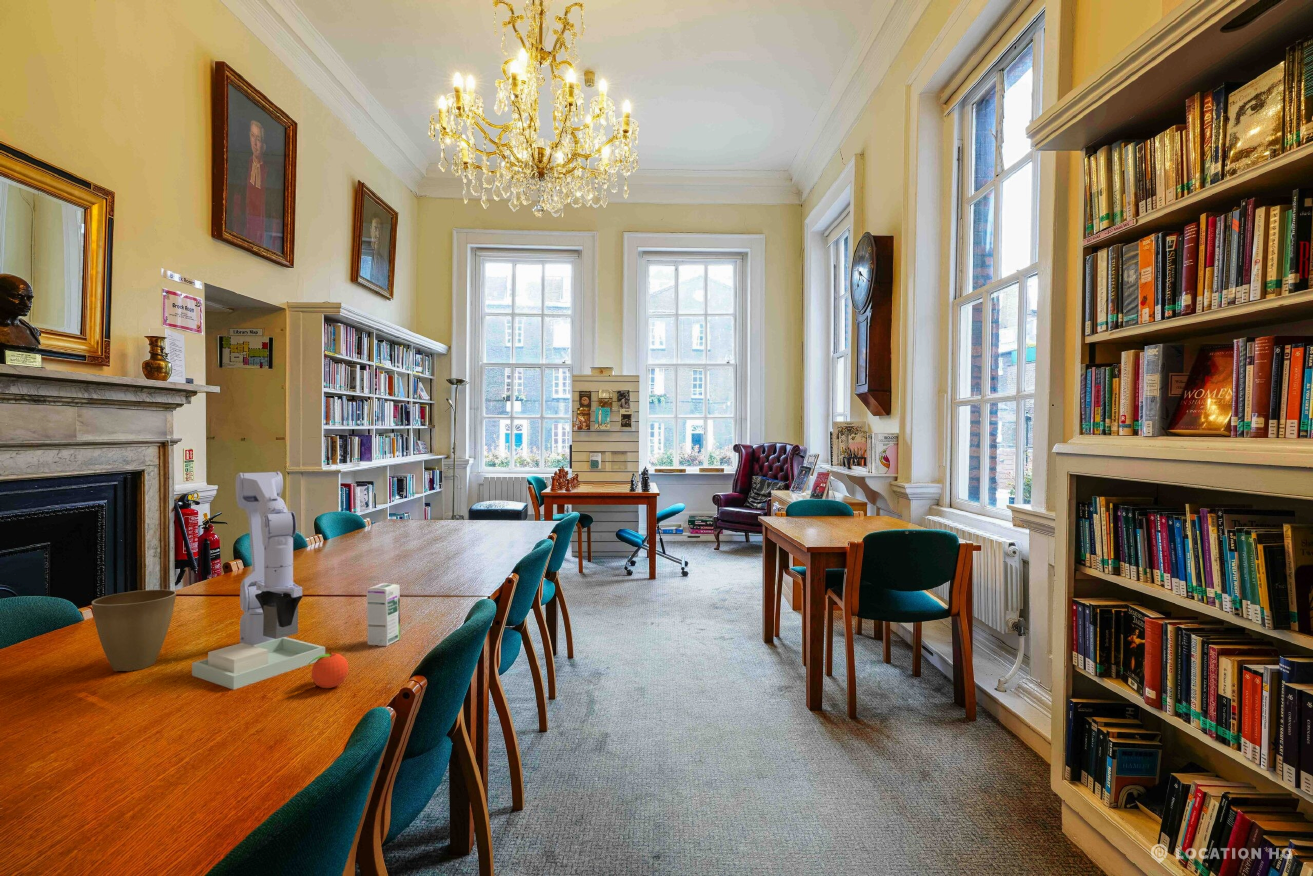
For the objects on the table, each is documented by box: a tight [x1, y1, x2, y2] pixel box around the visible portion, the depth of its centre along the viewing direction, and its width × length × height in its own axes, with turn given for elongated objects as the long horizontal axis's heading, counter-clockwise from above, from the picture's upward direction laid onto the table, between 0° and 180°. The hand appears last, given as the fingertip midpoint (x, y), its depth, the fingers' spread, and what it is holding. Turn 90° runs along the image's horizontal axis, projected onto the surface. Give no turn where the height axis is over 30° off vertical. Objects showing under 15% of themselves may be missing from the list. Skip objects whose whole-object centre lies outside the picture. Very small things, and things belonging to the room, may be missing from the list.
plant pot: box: [91, 589, 177, 672], centre depth 143 cm, size 15×15×16 cm
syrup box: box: [366, 582, 402, 647], centre depth 160 cm, size 6×6×14 cm
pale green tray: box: [191, 636, 326, 691], centre depth 141 cm, size 16×20×4 cm
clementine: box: [307, 652, 349, 689], centre depth 131 cm, size 8×7×7 cm
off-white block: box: [207, 642, 268, 674], centre depth 136 cm, size 10×7×5 cm
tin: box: [263, 603, 299, 639], centre depth 145 cm, size 5×5×7 cm
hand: (278, 624), depth 144 cm, fingers closed on tin, 5 cm apart
